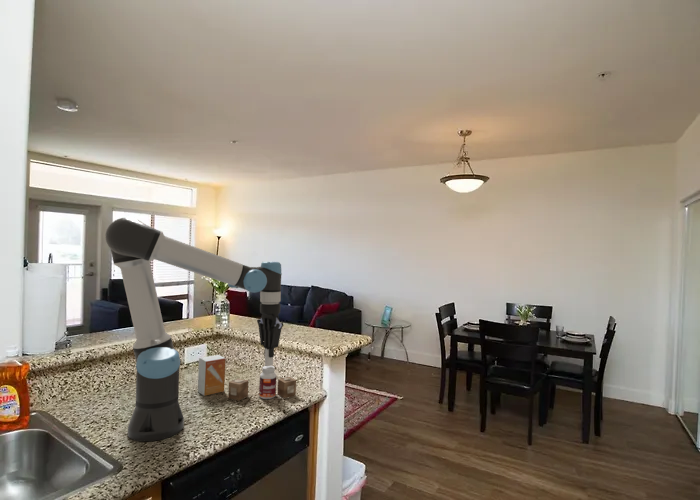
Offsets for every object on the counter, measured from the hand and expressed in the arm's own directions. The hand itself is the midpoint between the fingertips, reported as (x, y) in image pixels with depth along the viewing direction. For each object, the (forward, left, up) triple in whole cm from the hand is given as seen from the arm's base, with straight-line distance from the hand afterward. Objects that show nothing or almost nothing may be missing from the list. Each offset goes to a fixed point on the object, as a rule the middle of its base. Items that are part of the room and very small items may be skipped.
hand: (268, 365), depth 148 cm
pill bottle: (0, 0, -12) cm, 12 cm away
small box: (-12, +19, -12) cm, 26 cm away
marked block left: (-8, +7, -12) cm, 16 cm away
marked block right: (+6, -4, -12) cm, 14 cm away
